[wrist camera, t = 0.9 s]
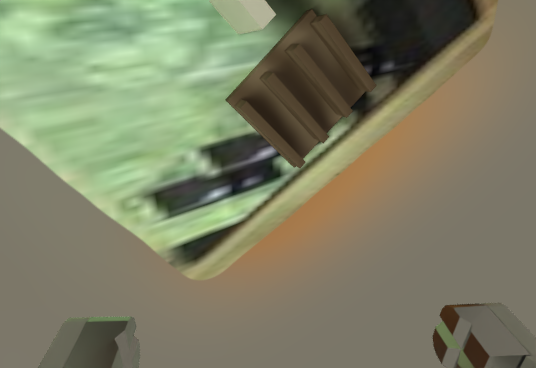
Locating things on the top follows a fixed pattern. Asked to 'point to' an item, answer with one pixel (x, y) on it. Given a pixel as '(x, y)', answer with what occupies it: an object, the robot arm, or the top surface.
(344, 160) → the top surface
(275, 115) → the rack
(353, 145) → the top surface
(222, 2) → the clay tile
